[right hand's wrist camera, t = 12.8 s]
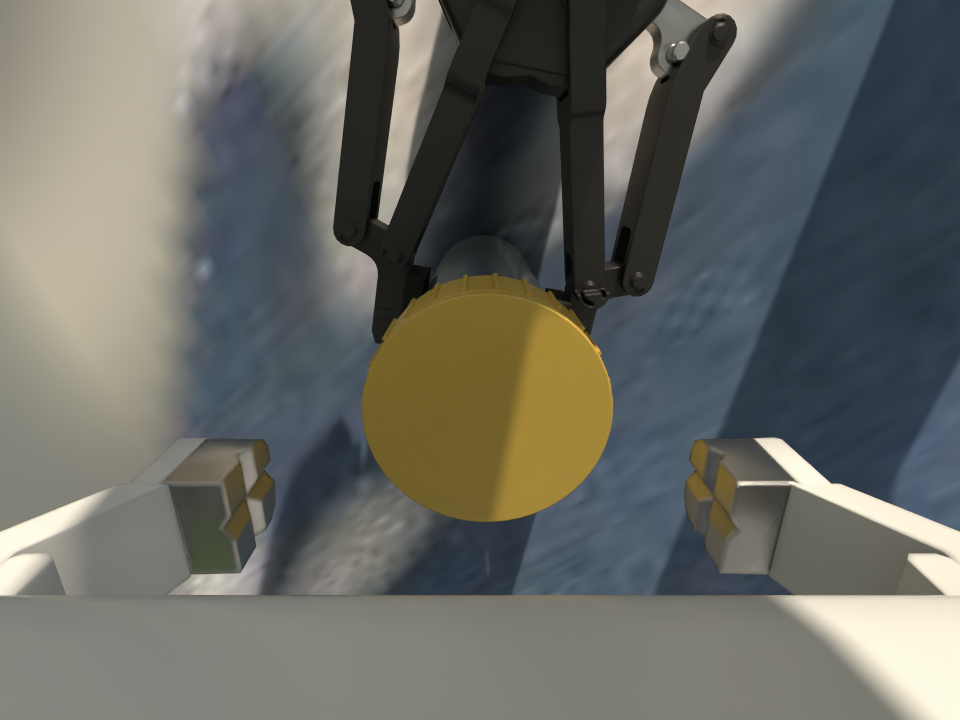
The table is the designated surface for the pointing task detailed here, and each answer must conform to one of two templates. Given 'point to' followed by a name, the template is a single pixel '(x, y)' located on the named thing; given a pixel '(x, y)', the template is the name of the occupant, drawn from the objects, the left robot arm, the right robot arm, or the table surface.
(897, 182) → the table surface
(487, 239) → the bottle
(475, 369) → the lid
